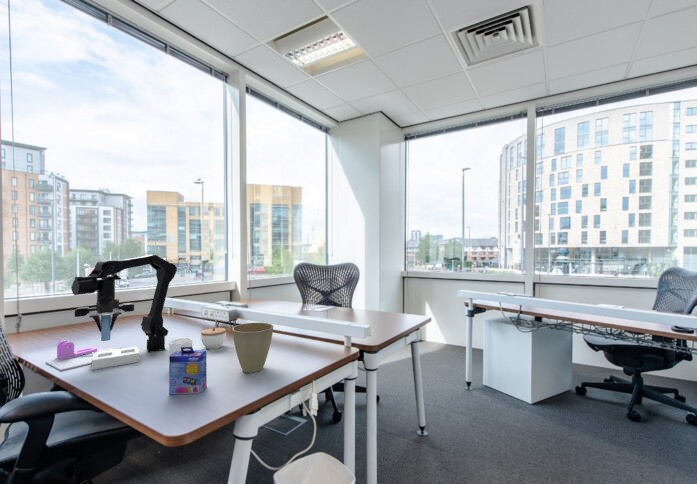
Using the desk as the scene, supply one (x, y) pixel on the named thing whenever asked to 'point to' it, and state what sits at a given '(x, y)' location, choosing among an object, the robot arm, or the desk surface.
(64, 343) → the bracket
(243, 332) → the plant pot
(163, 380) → the desk surface
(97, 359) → the hole block
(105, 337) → the peg
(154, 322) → the robot arm
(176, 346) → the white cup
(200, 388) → the ink cartridge box
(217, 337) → the lidded jar
